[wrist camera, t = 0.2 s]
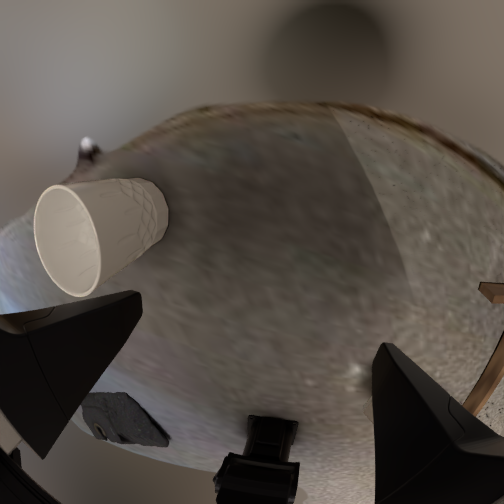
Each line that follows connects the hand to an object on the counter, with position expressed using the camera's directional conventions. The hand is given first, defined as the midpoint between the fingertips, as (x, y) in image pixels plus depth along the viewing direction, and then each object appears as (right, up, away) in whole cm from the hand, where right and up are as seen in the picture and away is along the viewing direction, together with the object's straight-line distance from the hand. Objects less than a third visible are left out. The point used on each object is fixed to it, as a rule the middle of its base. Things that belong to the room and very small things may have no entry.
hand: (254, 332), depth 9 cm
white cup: (-11, +6, +15) cm, 20 cm away
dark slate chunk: (-25, -29, +31) cm, 49 cm away
